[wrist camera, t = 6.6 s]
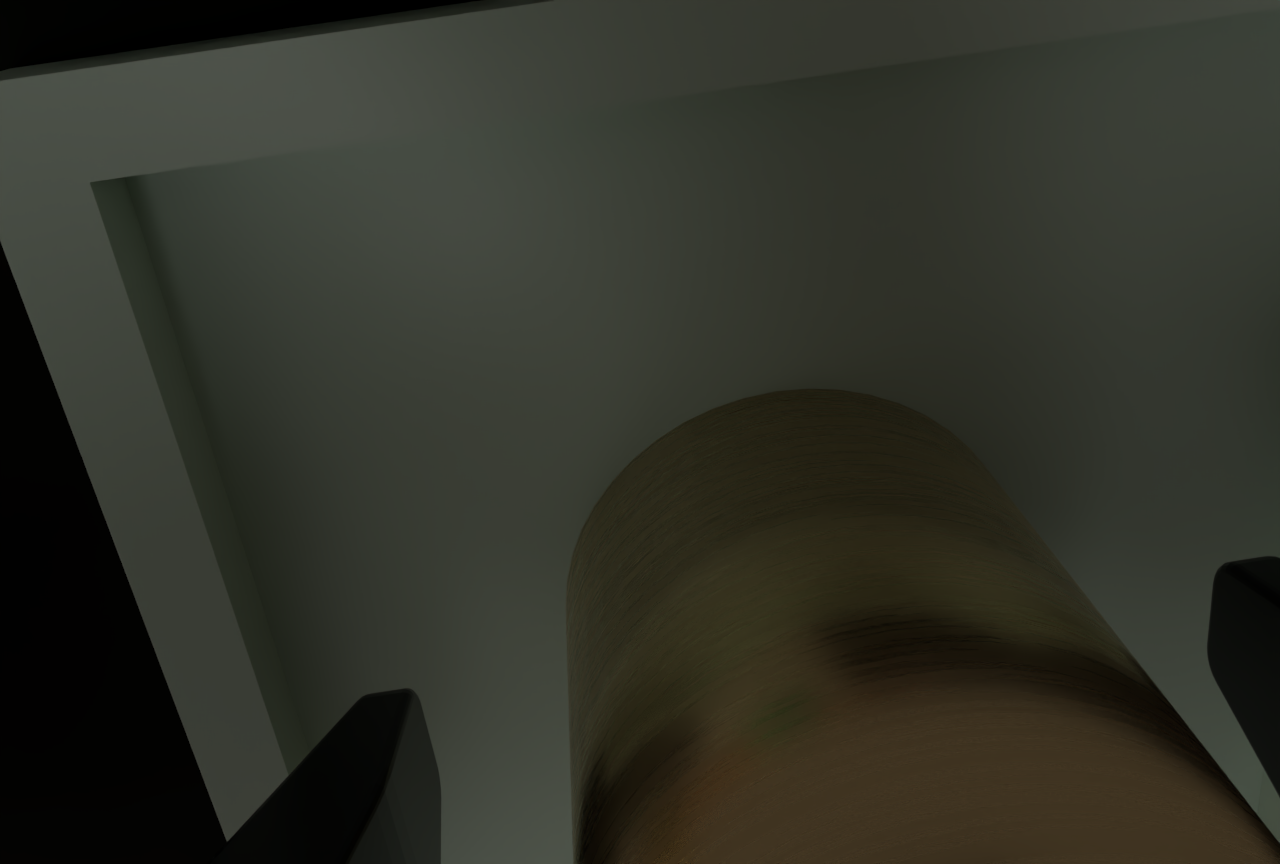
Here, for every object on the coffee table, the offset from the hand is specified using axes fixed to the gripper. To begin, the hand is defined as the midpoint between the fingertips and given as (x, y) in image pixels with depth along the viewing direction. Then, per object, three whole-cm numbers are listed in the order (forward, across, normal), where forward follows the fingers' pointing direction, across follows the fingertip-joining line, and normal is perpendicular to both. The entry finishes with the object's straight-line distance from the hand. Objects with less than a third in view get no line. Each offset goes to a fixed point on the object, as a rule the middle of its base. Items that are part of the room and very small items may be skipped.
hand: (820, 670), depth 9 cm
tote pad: (+1, 0, 0) cm, 1 cm away
